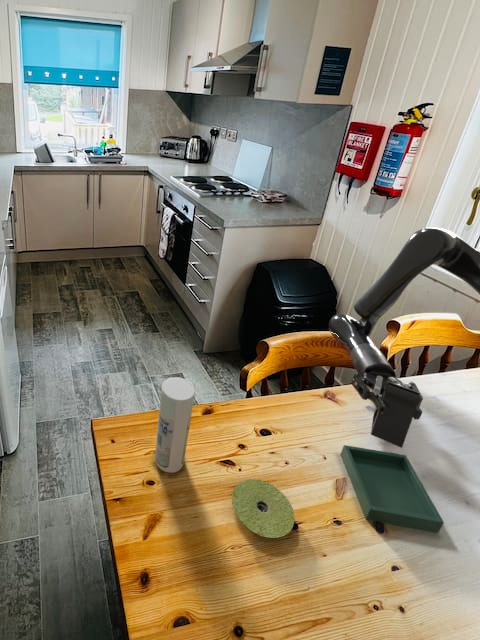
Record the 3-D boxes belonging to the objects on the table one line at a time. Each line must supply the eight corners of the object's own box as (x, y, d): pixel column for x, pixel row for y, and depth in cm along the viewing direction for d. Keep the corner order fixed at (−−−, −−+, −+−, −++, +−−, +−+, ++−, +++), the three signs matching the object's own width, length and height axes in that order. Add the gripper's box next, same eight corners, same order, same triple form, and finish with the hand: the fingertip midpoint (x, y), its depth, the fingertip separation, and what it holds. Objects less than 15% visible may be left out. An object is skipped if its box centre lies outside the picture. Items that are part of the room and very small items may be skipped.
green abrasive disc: (281, 558, 68) (284, 551, 67) (221, 517, 74) (222, 510, 73) (299, 508, 76) (301, 501, 76) (243, 475, 83) (244, 468, 82)
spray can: (149, 450, 87) (157, 379, 79) (177, 444, 89) (186, 374, 81) (160, 476, 81) (169, 403, 73) (189, 469, 83) (200, 397, 75)
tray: (401, 464, 86) (405, 455, 85) (438, 533, 73) (444, 522, 72) (340, 454, 88) (343, 444, 87) (365, 519, 75) (370, 509, 74)
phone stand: (374, 410, 96) (389, 372, 91) (403, 422, 93) (420, 383, 88) (370, 435, 89) (386, 394, 84) (401, 448, 86) (420, 407, 81)
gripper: (345, 349, 101) (371, 396, 86) (406, 356, 99) (444, 406, 83) (337, 372, 104) (361, 421, 89) (396, 380, 102) (432, 432, 86)
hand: (401, 414), depth 86 cm, fingers closed on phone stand, 6 cm apart
